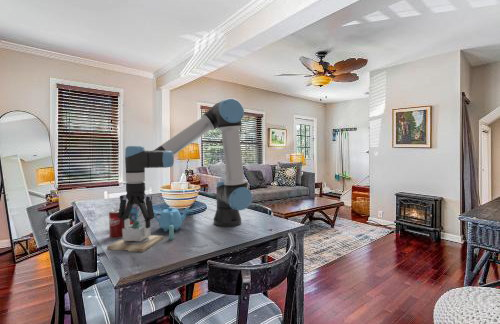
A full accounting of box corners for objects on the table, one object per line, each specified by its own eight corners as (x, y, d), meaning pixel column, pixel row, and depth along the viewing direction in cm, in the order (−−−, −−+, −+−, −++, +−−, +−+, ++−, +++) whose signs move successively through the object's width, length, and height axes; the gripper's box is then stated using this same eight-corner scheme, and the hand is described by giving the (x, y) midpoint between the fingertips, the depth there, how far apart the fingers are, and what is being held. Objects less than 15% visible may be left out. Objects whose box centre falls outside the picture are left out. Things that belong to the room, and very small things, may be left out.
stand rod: (174, 238, 122) (174, 225, 122) (172, 239, 120) (172, 226, 120) (170, 238, 123) (170, 225, 122) (168, 239, 121) (168, 226, 120)
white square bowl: (150, 234, 119) (150, 223, 119) (140, 241, 111) (139, 229, 111) (134, 234, 120) (133, 223, 120) (122, 240, 112) (122, 228, 112)
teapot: (152, 231, 135) (151, 209, 134) (172, 222, 147) (171, 202, 146) (171, 235, 129) (170, 212, 128) (190, 226, 141) (190, 205, 140)
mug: (128, 229, 136) (128, 208, 135) (118, 226, 141) (117, 206, 140) (149, 223, 146) (148, 204, 145) (138, 221, 151) (138, 202, 150)
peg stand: (163, 238, 122) (162, 216, 122) (143, 251, 106) (142, 226, 106) (131, 236, 125) (130, 215, 124) (107, 249, 109) (106, 224, 109)
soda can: (115, 240, 120) (114, 213, 119) (106, 237, 124) (105, 211, 123) (130, 235, 126) (129, 210, 126) (121, 233, 130) (120, 208, 129)
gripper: (162, 181, 116) (163, 233, 117) (119, 180, 120) (120, 230, 121) (153, 184, 109) (154, 239, 110) (107, 182, 112) (109, 236, 114)
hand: (136, 234), depth 115 cm, fingers closed on white square bowl, 8 cm apart
